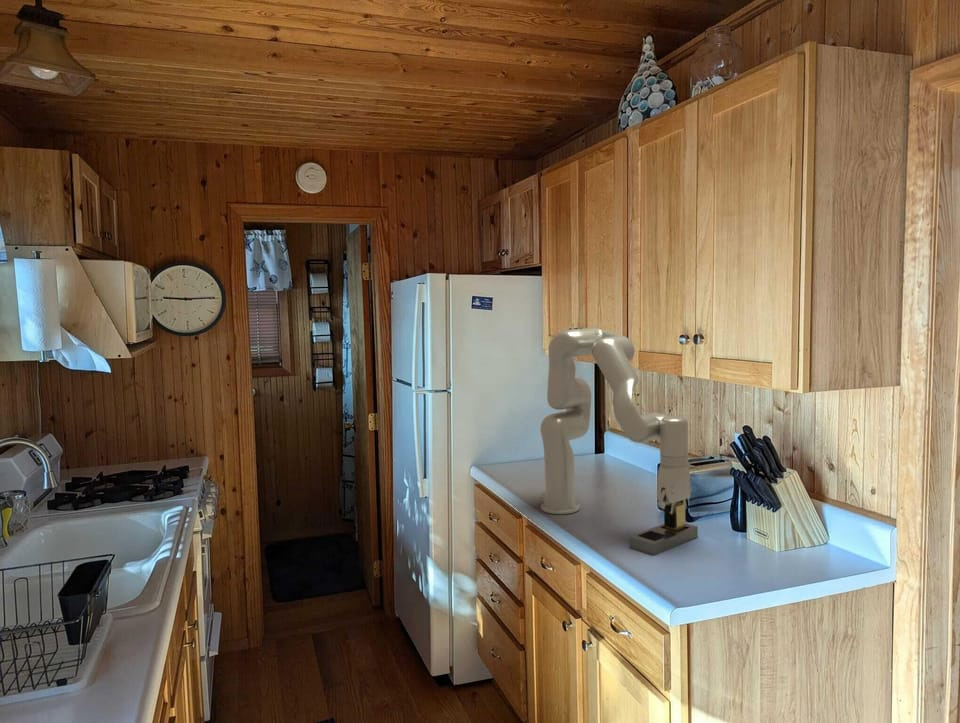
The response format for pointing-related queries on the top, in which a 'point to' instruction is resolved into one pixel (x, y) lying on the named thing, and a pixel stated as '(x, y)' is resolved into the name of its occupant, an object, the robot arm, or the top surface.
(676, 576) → the top surface
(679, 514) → the yellow rectangular block
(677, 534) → the grey slotted block
